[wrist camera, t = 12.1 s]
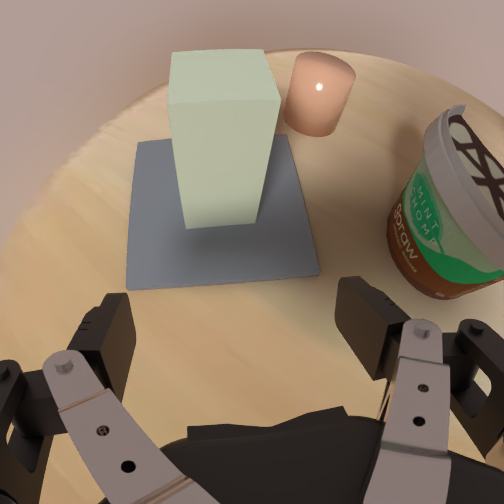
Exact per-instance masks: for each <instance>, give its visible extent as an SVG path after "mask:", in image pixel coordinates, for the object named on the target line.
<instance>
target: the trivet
mask: <svg viewBox="0 0 504 504" xmlns="http://www.w3.org/2000/svg"><path fill="white" fill-rule="evenodd" d="M319 273H320V269H319V264H318V260H317V255H316V251H315V246H314V242H313V237H312V233H311V229H310V225H309V220H308V216H307V212H306V208H305V204H304V200H303V196H302V192H301V188H300V184H299V180H298V176H297V173H296V169H295V165H294V161H293V158H292V154H291V150H290V147H289V143H288V140H287V136H286V135H274V137H273V142H272V146H271V151H270V156H269V161H268V165H267V170H266V175H265V180H264V184H263V189H262V194H261V199H260V203H259V208H258V213H257V218H256V222H255V223H254V224H240V225H228V226H216V227H204V228H192V229H186V227H185V221H184V216H183V210H182V204H181V198H180V192H179V186H178V179H177V173H176V166H175V159H174V152H173V145H172V139H165V140H155V141H145V142H138V145H137V152H136V159H135V167H134V175H133V184H132V193H131V204H130V215H129V229H128V245H127V268H126V288H127V289H128V290H129V291H130V290H147V289H163V288H177V287H192V286H205V285H218V284H231V283H243V282H254V281H266V280H277V279H288V278H298V277H308V276H318V274H319Z"/></svg>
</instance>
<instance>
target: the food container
mask: <svg viewBox="0 0 504 504" xmlns="http://www.w3.org/2000/svg"><path fill="white" fill-rule="evenodd" d="M465 107H466V105H456V106H454V107H452V108H451V109H448V110H446V111H445V112H443V113H442V114H441V115H440V116H439V117H438V118H437V119H435V120H434V121H433V122H432V123H431V124H430V125H429V127H428V128H427V130H426V132H425V135H424V153H425V154H424V156H423V158H422V159H421V161H420V163H419V165H418V166H417V168H416V170H415V172H414V173H413V175H412V177H411V178H410V180H409V182H408V183H407V185H406V187H405V188H404V190H403V192H402V193H401V195H400V197H399V198H398V200H397V202H396V203H395V205H394V206H393V208H392V211H391V213H390V215H389V217H388V219H387V233H386V236H387V241H388V246H389V250H390V253H391V255H392V258H393V260H394V262H395V264H396V266H397V268H398V269H399V270H400V272H401V273H402V275H403V276H404V277H405V278H406V280H407V281H408V282H409V283H410V284H411V285H412V286H414V287H415V288H416V289H417V290H419V291H420V292H422V293H423V294H425V295H427V296H430V297H432V298H436V299H441V300H448V299H454V298H457V297H459V296H462V295H465V294H468V293H470V292H473V291H476V290H478V289H481V288H484V287H486V286H489V285H491V284H494V283H496V282H499V281H501V280H504V168H503V167H502V166H501V164H500V163H499V162H498V161H497V160H496V159H495V158H494V157H493V155H492V154H491V153H490V152H489V151H488V150H487V148H486V147H485V146H484V145H483V144H482V142H481V141H480V140H479V138H478V137H477V136H476V134H475V133H474V132H473V131H472V129H471V128H470V127H469V125H468V124H467V123H466V122H465V120H464V119H463V118H462V116H461V115H462V113H463V111H464V109H465Z"/></svg>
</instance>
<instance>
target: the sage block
mask: <svg viewBox="0 0 504 504" xmlns="http://www.w3.org/2000/svg"><path fill="white" fill-rule="evenodd" d="M280 104H281V97H280V94H279V92H278V89H277V86H276V83H275V80H274V78H273V75H272V72H271V70H270V67H269V64H268V62H267V59H266V57H265V54H264V51H263V50H259V49H225V50H224V49H223V50H198V51H185V52H173V53H172V59H171V68H170V78H169V89H168V101H167V107H168V115H169V123H170V131H171V138H172V145H173V152H174V159H175V166H176V173H177V179H178V186H179V192H180V198H181V204H182V210H183V216H184V221H185V227H186V229H192V228H204V227H216V226H228V225H240V224H254V223H255V222H256V218H257V213H258V208H259V203H260V199H261V194H262V189H263V184H264V180H265V175H266V170H267V165H268V161H269V156H270V151H271V146H272V142H273V137H274V132H275V128H276V123H277V118H278V113H279V109H280Z"/></svg>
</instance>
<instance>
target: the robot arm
mask: <svg viewBox="0 0 504 504" xmlns="http://www.w3.org/2000/svg"><path fill="white" fill-rule="evenodd" d="M335 322H336V326H337V328H338V330H339V331H340V332H341V334H342V335H343V337H344V338H345V340H346V341H347V343H348V344H349V346H350V347H351V349H352V350H353V352H354V353H355V355H356V356H357V358H358V359H359V361H360V362H361V363H362V365H363V366H364V368H365V369H366V371H367V372H368V374H369V375H370V377H371V378H372V380H373V381H375V380H379V379H382V378H386V379H387V382H386V385H385V389H384V392H383V396H382V400H381V404H380V407H379V411H378V414H377V418H376V419H373V418H369V417H362V416H348V415H347V413H346V411H345V409H344V407H343V406H339V407H335V408H330V409H325V410H320V411H315V412H310V413H306V414H304V415H301V416H299V417H296V418H294V419H291V420H288V421H286V422H283V423H280V424H278V425H275V426H272V427H258V426H245V425H234V424H218V425H203V426H187V438H183V439H180V440H177V441H174V442H171V443H169V444H167V445H165V446H163V447H161V448H160V449H159V448H158V447H157V446H156V445H155V444H154V443H153V442H152V441H151V439H150V438H149V437H148V436H147V435H146V434H145V433H144V431H143V430H142V429H141V428H140V427H139V425H138V424H137V423H136V422H135V420H134V419H133V418H132V417H131V416H130V414H129V413H128V412H127V410H126V409H125V408H124V407H123V405H122V399H123V395H124V390H125V386H126V382H127V377H128V373H129V369H130V365H131V361H132V357H133V353H134V349H135V345H136V331H135V326H134V321H133V317H132V312H131V307H130V302H129V298H128V295H127V293H107V294H106V296H105V297H104V299H103V301H102V303H101V305H100V307H94V308H93V309H91V310H90V311H89V312H88V313H86V315H85V316H84V318H83V320H82V322H81V324H80V325H79V327H78V330H77V331H76V332H75V334H74V336H73V338H72V340H71V342H70V344H69V345H68V347H67V349H66V350H63V351H59V352H56V353H54V354H53V355H51V356H50V357H48V358H47V359H46V361H45V362H44V364H43V369H42V370H36V371H30V372H24V373H23V371H22V369H21V367H20V365H19V364H18V363H17V362H16V361H14V360H3V361H0V504H39V500H40V494H41V489H42V484H43V479H44V474H45V470H46V465H47V461H48V457H49V452H50V448H51V445H52V441H53V437H54V435H57V434H63V433H69V435H70V437H71V439H72V441H73V443H74V445H75V447H76V448H77V450H78V452H79V454H80V456H81V457H82V459H83V461H84V463H85V464H86V466H87V468H88V469H89V471H90V473H91V474H92V476H93V478H94V479H95V481H96V482H97V484H98V486H99V487H100V489H101V490H102V492H103V493H104V495H105V496H106V497H105V498H104V499H103V500H102V501H101V502H99V503H98V504H504V339H503V338H502V337H501V336H500V335H498V334H497V333H496V332H495V331H494V330H493V329H492V328H491V327H489V326H488V325H487V324H485V323H484V322H482V321H479V320H475V319H465V320H463V321H461V322H460V325H459V328H458V331H457V333H442V331H441V329H440V328H439V327H438V326H437V325H436V324H434V323H433V322H430V321H428V320H424V319H411V318H410V317H409V316H408V315H407V314H406V313H405V312H404V311H403V310H402V309H401V308H400V307H398V306H397V305H395V303H394V302H393V301H392V300H390V298H389V297H388V296H387V295H386V294H385V293H384V292H382V291H380V290H378V289H376V288H374V287H372V286H370V285H369V284H368V283H367V282H366V281H365V280H364V279H362V278H361V277H360V276H353V277H343V278H341V279H340V280H339V283H338V291H337V299H336V307H335ZM479 368H480V369H481V370H482V371H483V372H484V373H485V374H486V375H487V376H488V377H489V379H490V381H491V386H492V387H491V392H490V394H489V396H488V397H487V395H486V394H485V393H484V392H483V391H482V389H481V388H480V387H479V386H478V385H477V384H476V382H475V381H474V378H475V376H476V373H477V371H478V369H479ZM450 409H451V411H452V412H453V413H454V415H455V416H456V418H457V419H458V421H459V422H460V423H461V425H462V426H463V428H464V429H465V431H466V432H467V434H468V435H469V437H470V438H471V439H472V441H473V442H474V444H475V445H476V447H477V448H478V450H479V451H480V453H481V454H482V456H483V458H484V459H485V463H486V464H485V463H482V462H479V461H476V460H474V459H471V458H468V457H466V456H463V455H460V454H458V453H455V452H452V451H450V450H447V446H448V434H449V416H450ZM11 423H12V424H13V426H14V429H13V432H12V434H11V437H10V440H9V443H8V445H7V441H6V435H7V432H8V429H9V426H10V424H11Z"/></svg>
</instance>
